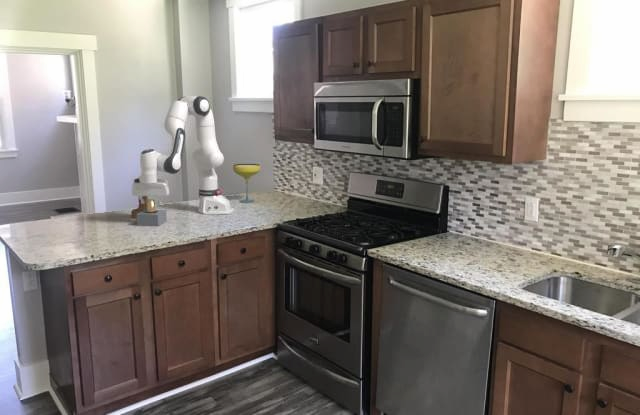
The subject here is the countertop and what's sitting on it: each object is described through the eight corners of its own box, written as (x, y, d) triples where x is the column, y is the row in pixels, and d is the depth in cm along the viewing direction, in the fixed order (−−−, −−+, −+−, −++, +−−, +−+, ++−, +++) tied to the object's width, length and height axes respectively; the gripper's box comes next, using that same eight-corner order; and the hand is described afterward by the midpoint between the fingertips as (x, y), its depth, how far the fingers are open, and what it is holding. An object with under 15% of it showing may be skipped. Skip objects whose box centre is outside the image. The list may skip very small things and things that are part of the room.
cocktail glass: (235, 199, 366) (234, 163, 361) (261, 199, 368) (260, 163, 363) (232, 204, 349) (231, 166, 344) (259, 204, 350) (259, 167, 345)
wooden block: (131, 218, 304) (129, 187, 300) (133, 216, 308) (131, 186, 305) (147, 218, 305) (145, 187, 302) (148, 216, 310) (147, 186, 306)
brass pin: (156, 220, 294) (155, 199, 291) (154, 221, 290) (152, 200, 287) (150, 219, 294) (148, 199, 291) (147, 221, 290) (145, 200, 288)
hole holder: (166, 221, 297) (166, 210, 296) (158, 226, 286) (157, 214, 284) (146, 220, 298) (145, 209, 297) (137, 225, 287) (136, 214, 285)
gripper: (170, 178, 289) (171, 202, 292) (134, 178, 291) (136, 202, 294) (166, 180, 283) (167, 205, 286) (129, 179, 285) (131, 204, 288)
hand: (151, 203), depth 290 cm, fingers open, 8 cm apart
